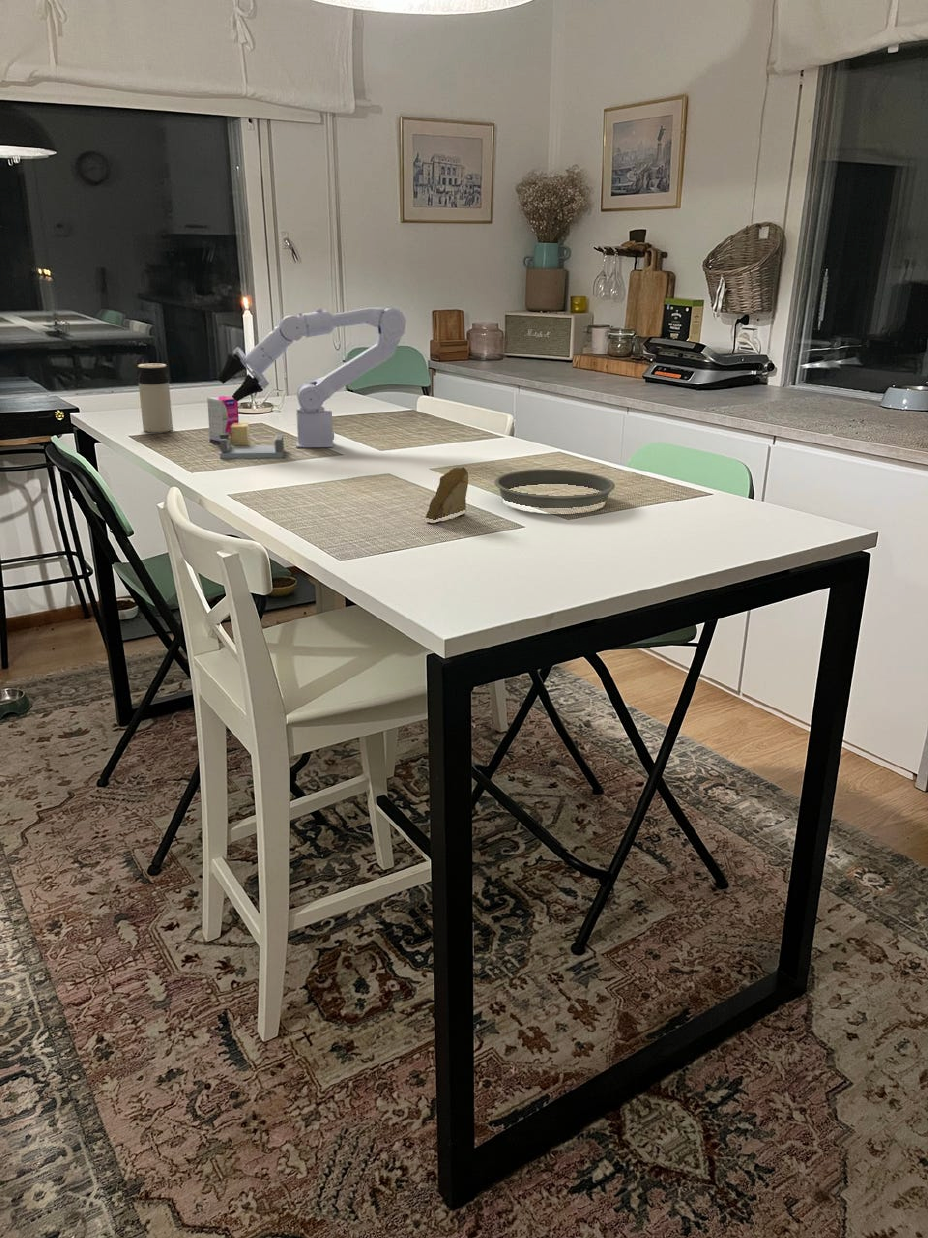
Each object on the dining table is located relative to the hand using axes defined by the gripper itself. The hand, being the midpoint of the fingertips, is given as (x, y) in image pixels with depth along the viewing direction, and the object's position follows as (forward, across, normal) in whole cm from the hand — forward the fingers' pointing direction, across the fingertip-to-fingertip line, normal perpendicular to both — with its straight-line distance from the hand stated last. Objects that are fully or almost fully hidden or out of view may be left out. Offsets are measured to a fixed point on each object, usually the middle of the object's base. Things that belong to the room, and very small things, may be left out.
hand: (227, 390), depth 242 cm
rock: (-21, +85, -23) cm, 90 cm away
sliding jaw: (+9, +13, 0) cm, 16 cm away
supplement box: (+11, 0, +13) cm, 17 cm away
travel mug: (+25, -23, +16) cm, 38 cm away
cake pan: (-39, +88, -4) cm, 97 cm away
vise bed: (+6, +17, +4) cm, 18 cm away
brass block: (+8, +9, +9) cm, 15 cm away
